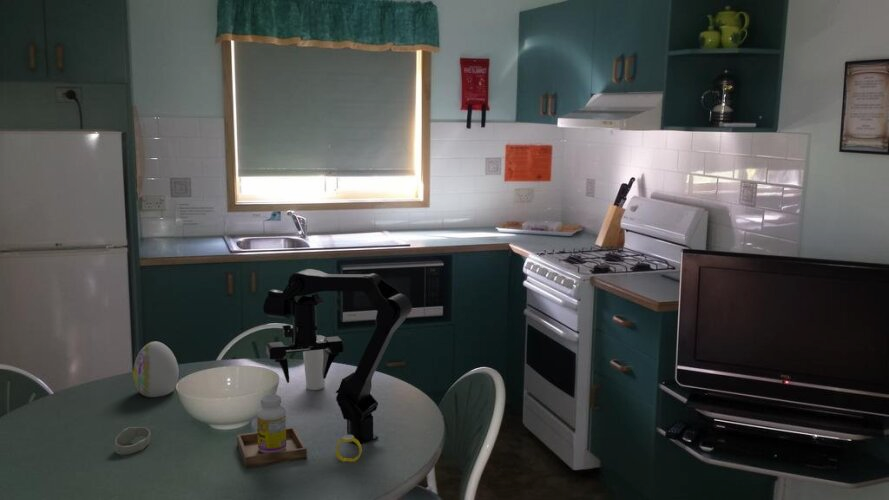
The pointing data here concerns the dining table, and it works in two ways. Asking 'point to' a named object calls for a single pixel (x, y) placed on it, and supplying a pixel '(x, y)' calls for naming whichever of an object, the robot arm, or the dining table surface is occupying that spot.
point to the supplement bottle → (271, 425)
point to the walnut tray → (256, 458)
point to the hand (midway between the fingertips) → (306, 380)
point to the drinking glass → (314, 367)
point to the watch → (348, 439)
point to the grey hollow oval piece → (128, 437)
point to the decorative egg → (155, 370)
